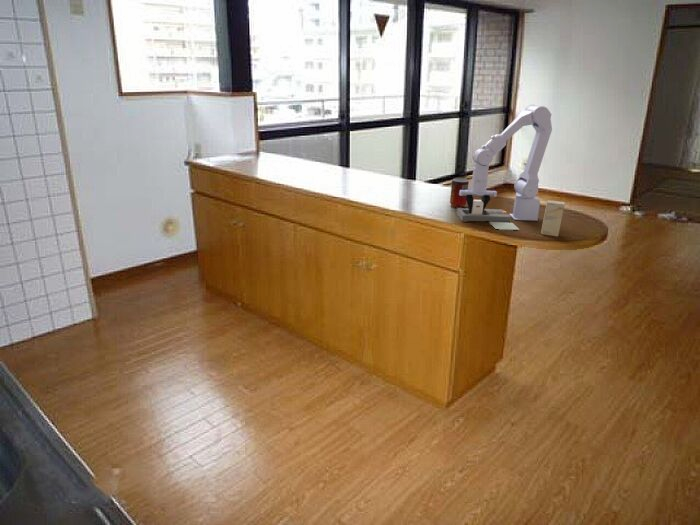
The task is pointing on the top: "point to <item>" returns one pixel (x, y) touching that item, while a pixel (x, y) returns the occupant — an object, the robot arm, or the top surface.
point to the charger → (477, 207)
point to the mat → (504, 226)
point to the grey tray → (484, 215)
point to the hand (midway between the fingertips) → (475, 213)
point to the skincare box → (552, 218)
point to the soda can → (455, 189)
